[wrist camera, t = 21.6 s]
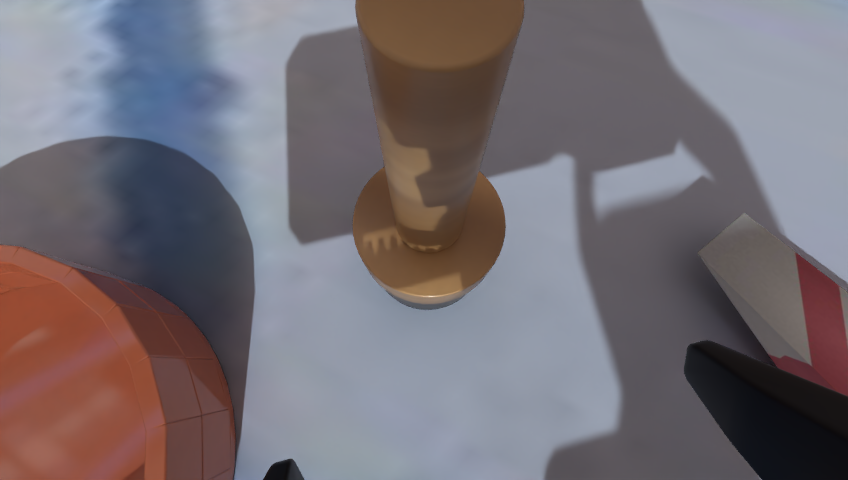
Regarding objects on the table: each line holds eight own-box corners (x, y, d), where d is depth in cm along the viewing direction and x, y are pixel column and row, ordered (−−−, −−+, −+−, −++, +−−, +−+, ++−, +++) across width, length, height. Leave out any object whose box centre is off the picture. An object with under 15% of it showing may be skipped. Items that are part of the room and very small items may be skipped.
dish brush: (465, 331, 17) (588, 234, 4) (351, 291, 17) (169, 99, 5) (499, 222, 18) (667, -87, 6) (393, 188, 19) (336, -168, 6)
